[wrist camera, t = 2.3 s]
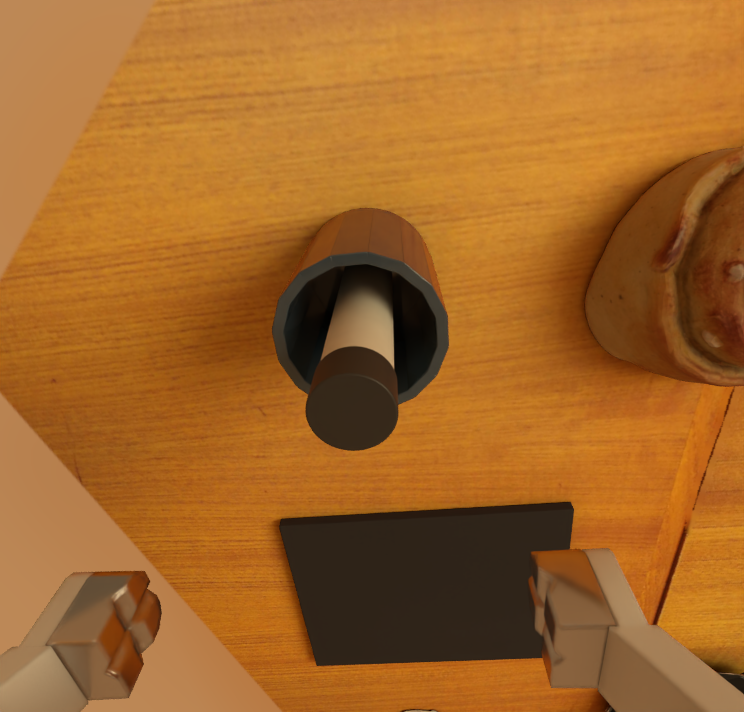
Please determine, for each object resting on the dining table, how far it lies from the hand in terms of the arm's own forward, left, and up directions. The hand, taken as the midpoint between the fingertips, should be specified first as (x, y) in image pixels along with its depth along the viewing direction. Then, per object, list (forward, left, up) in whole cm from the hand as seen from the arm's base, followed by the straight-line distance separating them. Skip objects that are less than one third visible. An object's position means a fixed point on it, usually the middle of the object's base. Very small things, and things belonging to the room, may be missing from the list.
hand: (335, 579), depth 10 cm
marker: (0, 0, -20) cm, 20 cm away
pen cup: (0, 0, -21) cm, 21 cm away
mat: (+2, -28, -21) cm, 35 cm away
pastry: (+20, -1, -21) cm, 29 cm away
